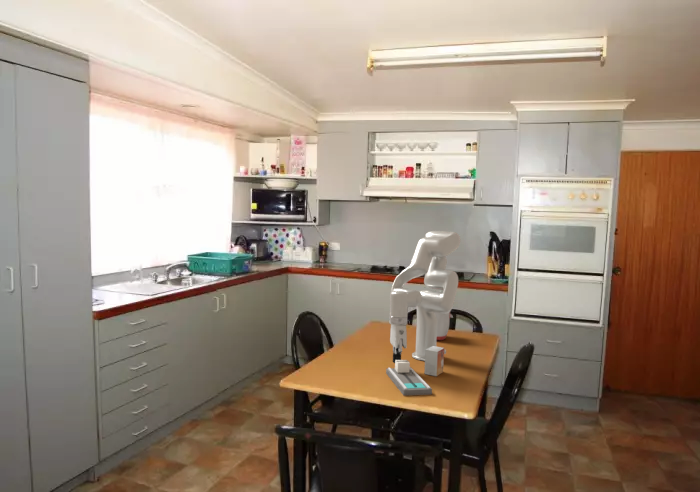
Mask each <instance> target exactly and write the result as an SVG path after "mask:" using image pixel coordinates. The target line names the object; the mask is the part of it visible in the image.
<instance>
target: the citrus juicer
mask: <svg viewBox="0 0 700 492" xmlns="http://www.w3.org/2000/svg"><path fill="white" fill-rule="evenodd" d="M434 313H435V315H436V318H437V341H444V340H445V339H446V338H447V335H448V332H449V328H450V319H453V318H454V317H453V314H452V313H451V311H450V312H449V313H447V314H444V313H437V312H434Z"/></svg>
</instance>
